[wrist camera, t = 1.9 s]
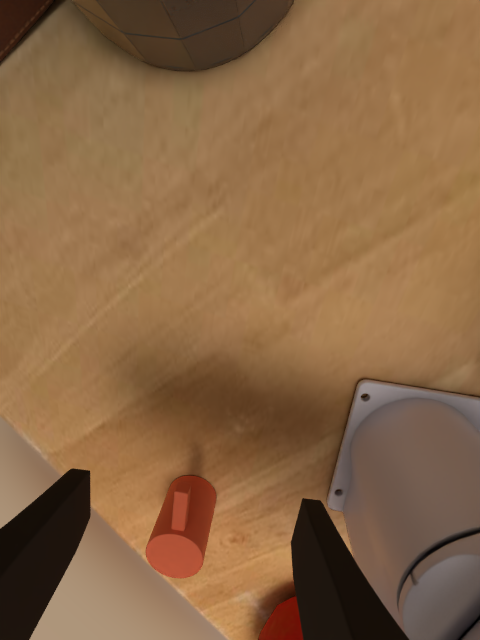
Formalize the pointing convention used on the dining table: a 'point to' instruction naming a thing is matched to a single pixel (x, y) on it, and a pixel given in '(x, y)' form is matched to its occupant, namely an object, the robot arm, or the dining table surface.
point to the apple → (283, 623)
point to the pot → (185, 28)
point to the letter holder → (18, 20)
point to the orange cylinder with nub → (182, 528)
